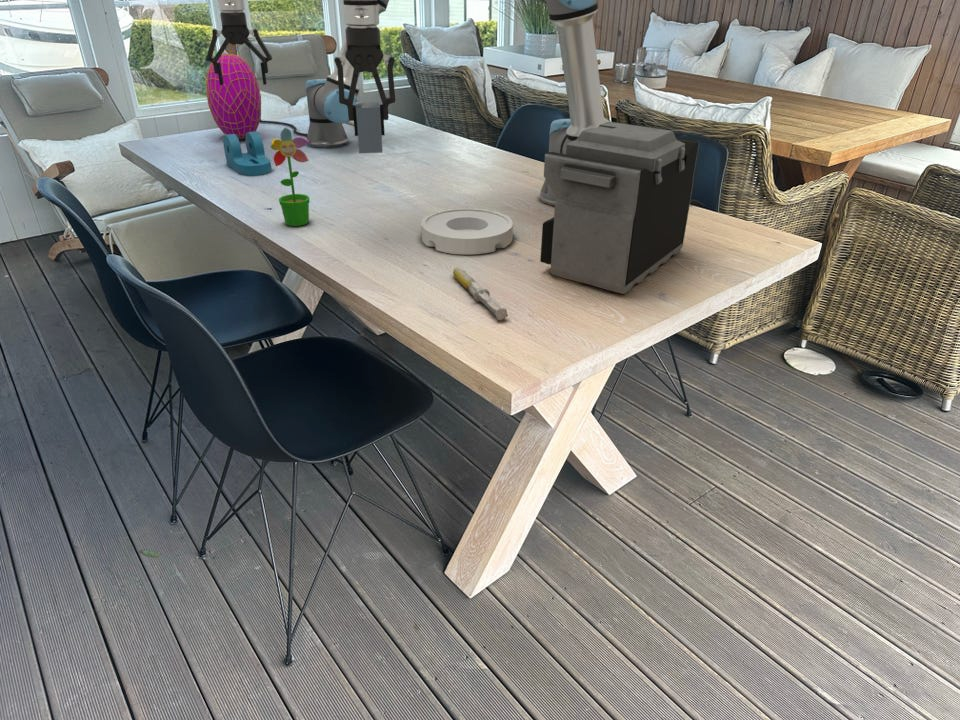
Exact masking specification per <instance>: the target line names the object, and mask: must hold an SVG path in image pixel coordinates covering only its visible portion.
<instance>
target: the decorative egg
mask: <svg viewBox="0 0 960 720" xmlns="http://www.w3.org/2000/svg"><path fill="white" fill-rule="evenodd" d="M217 62H220V64H221V70H222V76H223V82H224V84H223V85H220V82H219V76H218V74H215V72H214V66H213V63H212V62H210V64H209V67H208V69H207V71H206V79H205V80H206V82H205V83H206V84H205V87H206V88H205V89H206V99H207V105H208V108H209V111H210V113H211V116H212V119H213V121H214V123H215V124H216V126H217V128H218V129H219V130H220V131H221V133H223V134H224V135H230V134H235V135H236V136H237V138H238V140H239V141H240V140H246V139H245V137H246V133H247V132H255V131H257V130H258V128H259V125H260V123H261V122H260V120H262V119H261V118H262V95H261V89H260V85H259V82H258V80H257V79H258V78H257V76H256V73H255V72H254V70H253V69H252V67H251V66H250V65H249V63H248V62H247V60H245V59H244V58H243V57H242V56H240V55H238V54H234V53H222V55H221V57H220V58H219V60H218V61H217Z"/></svg>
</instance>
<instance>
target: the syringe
mask: <svg viewBox="0 0 960 720" xmlns="http://www.w3.org/2000/svg"><path fill="white" fill-rule="evenodd" d="M452 274H453V277H454V279H455V280H457V281H458V282H459V283H460V285H462V287H464V289H466V290H467V291H468V293H470V295H471V296H472V298H473V300H474V302H477V303H478V302H480V303H482V304H483V305H484V306H485V307H486V308H487V309H488V310H489V311H490V312H491V313H492V314H493V315H494V316H495V317H496V320H497V321H503V320H504V319H506V318H507V317H509V314H508V310H507V308H506V307H502V306H501V305H500V303H498V302H497V301H496V300H494V299H493V298H492V297H491V296H490V295H491V293H490V290H488V289H486V288H483V287H482V286H481V285H480V284H479V283H478V282H477V281H476V280H474V278H473V277H471V275H469V274H468V273H467V272H466V270H465V269H464V268H463V267H462V266H456V267H454V268H453V271H452Z"/></svg>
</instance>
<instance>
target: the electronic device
mask: <svg viewBox="0 0 960 720" xmlns="http://www.w3.org/2000/svg"><path fill="white" fill-rule="evenodd" d="M700 142H701V141H700V140H697V139H690V138H683V137H677V136H676V135H675V133H674V131H673V130H670V129H663V128H656V127H649V126H643V125H636V124H635V125H634V124H628V123H621V122H614V121H610V122H606V123H603V124H600V125H599V127H597V128H589V129H586V130H583V131H582V132H581V134H580V135H579V137H578V138H577V140H575V141H573V142H570V143H568V144H566V154H562V153H556V152H549V151H548V152H547V153H545V154H544V163H543V165H544V166H543V178H544V180H545V179H546V181H547V182H548V184H549V186H550V187H551V189H552V191H553V192H554V194H555V196H556V197H557V198H556V202H555V206H554V213H553V215H554V216H553V217H551V218H549V219H547V220H546V221H543V223H542V227H541V244H540V258H539V259H540V261H539V262H540V263H543V264H546V265H549V266H550V269H549V271H550V273H551V274H552V275H553V276H557V277H561V278H564V279H568V280H571V281H575V282H578V283H582V284H586V285H589V286H592V287H596V288H600V289H604V290H607V291H610V292H614V293H618V294H621V295H625V294H627V293H628V292H630V291H631V289H632V288H633V286H634V285H636V284H640V283H641V282H643V281H644V279H645V278H646V276H648V275H652V274H653V273H654V272H655V271H657V270H658V268H659V267H660V266H661V265H664V264H666V263H667V262H669V260H670V258H671V257H672V256H676V255H678V254H679V253H680V251H681V250H682V248H683V246H684V241H685V235H686V229H687V224H688V217H689V211H690V205H691V203H690V200H692V193H693V188H694V178H695V172H696V167H697V166H696V165H697V160H698V156H699V155H698V154H699V148H700Z"/></svg>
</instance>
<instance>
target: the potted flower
mask: <svg viewBox="0 0 960 720" xmlns="http://www.w3.org/2000/svg"><path fill="white" fill-rule="evenodd" d="M307 143H309V141H308V140H307V138H306V137H305V136H301V135H298V136H295V137H293V135H292V131H291V130H290V128H288V127H284V128H283V129H282V130H281V131H280V139H279V138H273V139H272V141H271V145H270V148H271V149H272V150H274V151H275V153H274V155H273V163H274V165H275V167H277V166H282V164H283V163H285V161H286V158H287V164H288V165H287V166H288V171H289V178H284V179H282V180H281V181H280V184H281V185H282V186H285V187H291V193H290V194H286V195H282V196H280V197H279V198H278V202H279V205H280V207H281V210H282V215H283V219H284V223H285V225H287V226H290V227H291V226H292V227H301V226H304V225H306V224H309V222H310V206H309V205H310V196H309V195H307V194H303V193H296V192H295V191H296V190H295V184H294V178H296V177H297V176H299V174H300V173H299V171H297V170H295V171H293V168H292V162H291V161H292V160H291V159H293V160H294V161H296V162H297V163H307V162H309V158H308V156H307V155H306V153H305V152H303V150H301V148H303V147H305V146H306V145H307Z"/></svg>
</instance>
